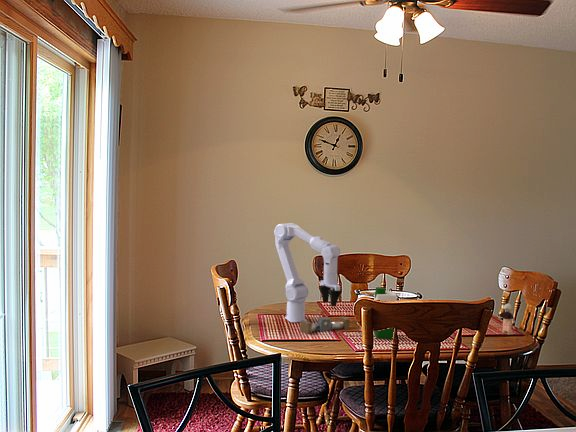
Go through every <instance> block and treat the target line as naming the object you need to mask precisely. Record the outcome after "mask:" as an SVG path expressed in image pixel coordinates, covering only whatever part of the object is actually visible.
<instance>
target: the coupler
mask: <svg viewBox="0 0 576 432" xmlns="http://www.w3.org/2000/svg"><path fill="white" fill-rule="evenodd" d="M330 322H331V318H329V317H328V316H321V317H320V316H319V317H317V323H318V324H319V325H320V329H319V330H318V331H320V332H330V331H331V329H330Z"/></svg>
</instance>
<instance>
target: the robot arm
mask: <svg viewBox="0 0 576 432" xmlns="http://www.w3.org/2000/svg"><path fill="white" fill-rule="evenodd" d="M273 233H274V234H273V235H274V237H275V248H276V251H277V254H278V258H279V260H280V263H281V267H282V270H283V272H284V276H285V279H286V284H285V285H284V287H285V296H286V298H287V299H286V300H287V302H286V316H284V318H285V319H286V320H287V321H289V322H290V323H300V321H307V322H309V321H308V319H307V318H305V317H306V316H305V313H306V310H305V309H306V307H305V306H306V299H307V297H308V295H309V289H308V287H307V285H306V284H305V282H304V281H303V279H301V278H300V277H299V274H298V272H297V271H298V270H297V268H296V265H295V262H294V259H293V256H292V253H291V250H290V247H289V244H290V243H291V241H292V240H293V239H294V238H295V237H297V238H299V239H300V240H303V241H304V242H306V243H308V244H309V247H310V248H311V249H313V250H314V251H316V252H317V253H319V254H321V256H322V258H323V279H322V280H319V281H320V285H318V289H319V291H320V295H321V299H322V300H321V301H322V303H325V304H326V303H328V302H329V298H330V307H336V306H337V305H338V300H339V298H340V296H341V294H342V292H343V290H341V285H339V284H338V257H339V256H340V254H341V248H340V247H339V246H338V245H337V244H335V243H334V244H331V242H329V241H327V240H324V239H323V237H322V236H317V235H316V236H313V235H312V234H310V233H308V232H307V231H306V230H304V229H303V228H301V227H300V225H298V224H296V223H293V222H289V223H279V224H277V225H276V226H275V228H274V230H273Z"/></svg>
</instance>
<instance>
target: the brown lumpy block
mask: <svg viewBox="0 0 576 432" xmlns="http://www.w3.org/2000/svg"><path fill="white" fill-rule="evenodd" d="M319 329H320V325H319V324H318V322H315V323H312V322H310V321H300V322H299V331H301V333H303V332H304V334H305V335H310V334H312V332H316V331H320V330H319Z"/></svg>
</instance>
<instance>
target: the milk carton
mask: <svg viewBox="0 0 576 432" xmlns="http://www.w3.org/2000/svg"><path fill="white" fill-rule="evenodd" d="M386 290H387V289H386V288H385V287H383V286H382V287H381V286H380V287H379V286H378V287H375V291H374V294H373V295H374V296H373V298H374V299H373V301H374V300H380V301H397V300H398V297H397V294H396V293H395V292H394V291H386ZM397 302H398V301H397ZM393 332H394V329H385V330H381V331H374V330H373V334H374V336H375V338H376V339H378V340H380V339H383V340H386V339H387V340H393V339H392V337H393Z"/></svg>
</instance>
